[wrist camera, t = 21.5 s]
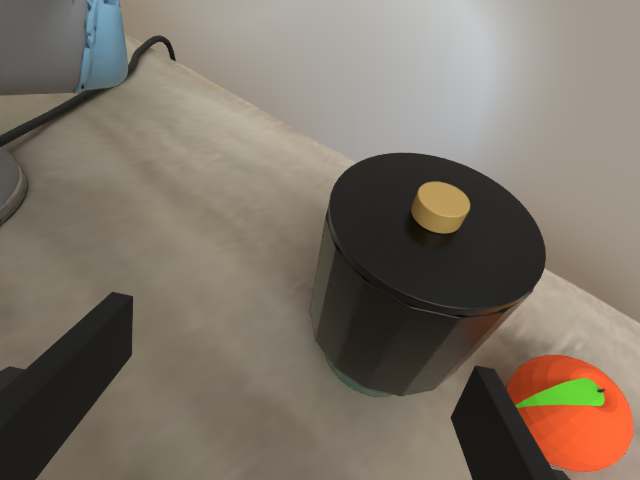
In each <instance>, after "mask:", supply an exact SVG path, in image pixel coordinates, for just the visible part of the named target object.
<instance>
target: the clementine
mask: <svg viewBox="0 0 640 480" xmlns="http://www.w3.org/2000/svg"><path fill="white" fill-rule="evenodd" d="M507 392H508V394H509V396H510V397H511V399H512V401H513V402H514V404H515V406H516V408H517V409H518V411H519V413H520V415H521V416H522V418H523V420H524V422H525V423H526V425H527V427H528V429H529V430H530V432H531V434H532V435H533V437H534V439H535V441H536V442H537V444H538V446H539V448H540V449H541V451H542V453H543V455H544V456H545V458H546V460H547V462H549V463H551V464H554V465H556V466H559V467H562V468H565V469H568V470H571V471H585V472H586V471H597V470H600V469H603V468H607V467H609V466H611V465H612V464H614V463H615V462H617V461H618V460H619V459H620V458H621V457H622V456H623V455H624V454H625V453H626V451H627V449H628V447H629V445H630V442H631V439H632V437H633V420H632V414H631V410H630V407H629V404H628V402H627V400H626V398H625V396H624V394H623V393H622V392H621V390H620V389H619V388H618V386H617V385H616V384H615V383H614V382H613V381H612V380H611V379H610V378H609V377H608V376H607V375H606V374H605V373H603V372H602V371H601V370H599V369H598V368H596V367H595V366H593V365H591V364H589V363H587V362H584V361H582V360H579V359H575V358H572V357H569V356H563V355H546V356H541V357H537V358H534V359H532V360H530V361H528V362H526V363H525V364H523V365H522V366H520V367H519V368H518V369H517V371H516V372H515V373H514V375H513V376H512V378H511V379H510V381H509V384H508V388H507Z"/></svg>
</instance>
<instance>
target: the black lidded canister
mask: <svg viewBox="0 0 640 480" xmlns="http://www.w3.org/2000/svg"><path fill="white" fill-rule="evenodd" d="M545 260H546V253H545V245H544V241H543V237H542V235H541V232H540V230H539V228H538V226H537V224H536V222H535V220H534V219H533V217H532V216H531V215H530V213H529V212H528V211H527V209H526V208H525V207H524V206H523V205H522V204H521V203H520V201H518V200H517V199H516V198H515V197H514V196H513V195H512V194H511V193H510V192H509V191H507V190H506V189H505V188H504V187H502V186H501V185H499V184H498V183H496V182H495V181H494V180H492V179H490V178H489V177H487V176H485V175H483V174H482V173H480V172H478V171H476V170H474V169H472V168H469V167H467V166H465V165H462V164H460V163H457V162H454V161H451V160H447V159H444V158H440V157H436V156H431V155H425V154H417V153H390V154H383V155H377V156H374V157H370V158H367V159H365V160H362V161H360V162H358V163H356V164H354V165H353V166H351V167H350V168H349V169H347V170H346V171H345V172H344V173H343V174H342V175H341V176H340V177H339V178H338V180H337V182H336V183H335V185H334V187H333V189H332V192H331V195H330V201H329V206H328V209H327V213H326V218H325V224H324V229H323V235H322V241H321V247H320V253H319V259H318V265H317V270H316V276H315V282H314V288H313V294H312V300H311V306H310V317H311V321H312V326H313V330H314V335H315V340H316V342H317V343H318V344H319V346H320V347H321V349H322V350H323V352H324V353H325V354H326V356H327V357H328V359H329V360H330V362H331V363H332V364H333V366H334V367H335V368H336V369H337V370H339V371H340V372H342V373H343V374H345V375H346V376H348V377H349V378H351V379H352V380H354V381H355V382H357V383H358V384H360V385H361V386H363V387H364V388H367V389H371V390H375V391H380V392H384V393H388V394H393V395H397V396H404V395H409V394H415V393H420V392H425V391H431V390H433V389H435V388H436V387H437V386H438V385H440V384H441V383H442V382H444V381H445V380H446V379H447V378H449V377H450V376H451V375H452V374H454V373H455V372H456V371H457V370H458V369H459V368H460V367H461V366H462V365H463V364H464V363H465V361H466V360H467V359H468V358H469V357H470V356H471V355H472V354H473V353H474V352H475V351H476V350H477V349H478V348H479V347H480V346H481V345H482V344H483V343H484V342H485V341H486V340H487V339H488V338H489V337H490V335H491V334H492V333H493V332H494V331H495V330H496V329H497V328H498V327H499V326H500V325H501V324H502V323H503V322H504V321H505V320H506V319H507V318H508V317H509V316H510V315H511V314H512V313H513V312H514V311H515V309H516V308H517V307H518V306H519V305H520V304H521V303H522V302H523V301H524V300H525V299H526V298H527V297H528V296H529V295H530V294H531V293H532V291H533V289H534V287H535V285H536V284H537V283H538V281H539V280H540V278H541V276H542V273H543V271H544V267H545Z"/></svg>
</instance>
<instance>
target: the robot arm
mask: <svg viewBox="0 0 640 480" xmlns="http://www.w3.org/2000/svg"><path fill="white" fill-rule="evenodd" d="M156 42H163V43H164V44H165V45H166V47H167V48H168V52H169V55H170V59H171V60H173V61H175V62H176V59H175V54H174V50H173V48H172V45H171V43H170V42H169V40H168V39H166V38H165V37H163V36H154V37H152V38H150V39H149V40H147V41H146V42H145V43H144V44H142V45H141V46H140V47H139V48H138V49H137V50H136V51H135V52H134V54H133V56H132V59H131V62H130V63H129V65H128V59H127V51H126V43H125V36H124V29H123V22H122V15H121V9H120V3H119V0H0V95H25V94H50V93H80V94H78V95H77V96H75V97H73V98H72V99H70V100H68V101H66V102H64V103H63V104H61V105H59V106H57V107H55V108H54V109H52V110H50V111H48V112H46V113H44V114H42V115H40V116H38V117H36V118H34V119H32V120H30V121H28V122H26V123H24V124H22V125H20V126H18V127H16V128H14V129H12V130H10V131H8V132H7V133H5V134H3V135H1V136H0V224H1V223H2V222H4V221H5V220H6V219H7V218H8V217H9V216H10V215H11V214H12V213H13V212H14V211H15V210H16V209H17V207H18V206H19V205H20V203H21V202H22V200H23V198H24V195H25V193H26V188H27V182H26V177H25V175H24V173H23V172H22V170H21V168H20V167H19V165H18V163H17V162H16V160H15V159H14V158H13V157H12V156H11V155H10V154H9V153H8V152H7V151H6V150H5V149H4V148H2V146H4V145H5V144H7V143H9V142H11V141H13V140H15V139H16V138H18V137H20V136H22V135H24V134H26V133H27V132H29V131H31V130H33V129H35V128H37V127H39V126H41V125H43V124H45V123H47V122H48V121H50V120H52V119H54V118H56V117H58V116H59V115H61V114H63V113H65V112H66V111H68V110H70V109H71V108H73V107H75V106H77V105H78V104H80V103H82V102H83V101H85V100H87V99H88V98H90V97H92V96H93V95H95V94H97V93H98V92H100V91H102V90H104V89H106V88H109V87H115V86H117V85H119V84H120V83H122V82H123V81H124V80H125V78H126V77H127V76H128V75H129V74H131V73H132V72H133V71H134V69H135V68H136V65H137V63H138V59H139V57H140V56H141V55H142V54H143V53H144V52H145V51H146V50H147V49H148V48H150V47H151V46H152V45H153V44H155V43H156ZM84 90H85V91H84ZM83 91H84V92H83ZM81 92H82V93H81ZM132 321H133V296H130V295H125V294H120V293H115V292H112V293H110V294H109V295H108V296H107V297H106V298H105V299H104V300H103V301H102V302H100V303H99V304H98V305H97V306H96V307H95V308H94V309H93V310H91V311H90V312H89V313H88V314H87V315H86V316H85V317H84V318H83V319H81V320H80V321H79V322H78V323H77V324H76V325H75V326H74V327H72V328H71V329H70V330H69V331H68V332H67V333H66V334H65V335H63V336H62V337H61V338H60V339H59V340H58V341H57V342H56V343H55V344H53V345H52V346H51V347H50V348H49V349H48V350H47V351H46V352H44V353H43V354H42V355H41V356H40V357H39V358H38V359H37V360H36V361H34V362H33V363H32V364H31V365H30V366H29V367H28V368H27V369H20V368H15V367H8V368H6V369H4V370H2V371H0V480H35V479H36V478H37V477H38V475H39V474H40V473H41V472H42V470H43V469H44V468H45V466H46V465H47V464H48V463H49V461H50V460H51V459H52V457H53V456H54V455H55V454H56V452H57V451H58V450H59V448H60V447H61V446H62V445H63V443H64V442H65V441H66V439H67V438H68V437H69V435H70V434H71V433H72V432H73V430H74V429H75V428H76V426H77V425H78V424H79V423H80V421H81V420H82V419H83V417H84V416H85V415H86V414H87V412H88V411H89V410H90V408H91V407H92V406H93V405H94V403H95V402H96V401H97V399H98V398H99V397H100V395H101V394H102V393H103V392H104V390H105V389H106V388H107V386H108V385H109V384H110V383H111V381H112V380H113V379H114V377H115V376H116V375H117V374H118V372H119V371H120V370H121V368H122V367H123V366H124V364H125V363H126V362H127V361H128V359H129V358H130V357H131V355H132ZM451 420H452V423H453V426H454V428H455V431H456V434H457V437H458V440H459V442H460V445H461V448H462V451H463V454H464V456H465V459H466V462H467V465H468V468H469V471H470V473H471V476H472V479H473V480H570V479H569V478H568V477H567V475H566V474H565V473H564V472H563V471H559V470H553V469H551V467H550V465H549V463H548V462H547V460H546V458H545V456H544V455H543V453H542V451H541V449H540V448H539V446H538V444H537V442H536V441H535V439H534V437H533V435H532V434H531V432H530V430H529V429H528V427H527V425H526V423H525V422H524V420H523V418H522V416H521V415H520V413H519V411H518V409H517V408H516V406H515V404H514V402H513V401H512V399H511V397H510V396H509V394H508V392H507V390H506V389H505V387H504V385H503V383H502V382H501V380H500V378H499V376H498V375H497V373H496V371H495V369H490V368H485V367H480V366H475V367H474V369H473V371H472V374H471V376H470V378H469V380H468V382H467V384H466V386H465V388H464V390H463V392H462V395H461V397H460V399H459V401H458V403H457V405H456V407H455V409H454V411H453V414H452V416H451Z"/></svg>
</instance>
